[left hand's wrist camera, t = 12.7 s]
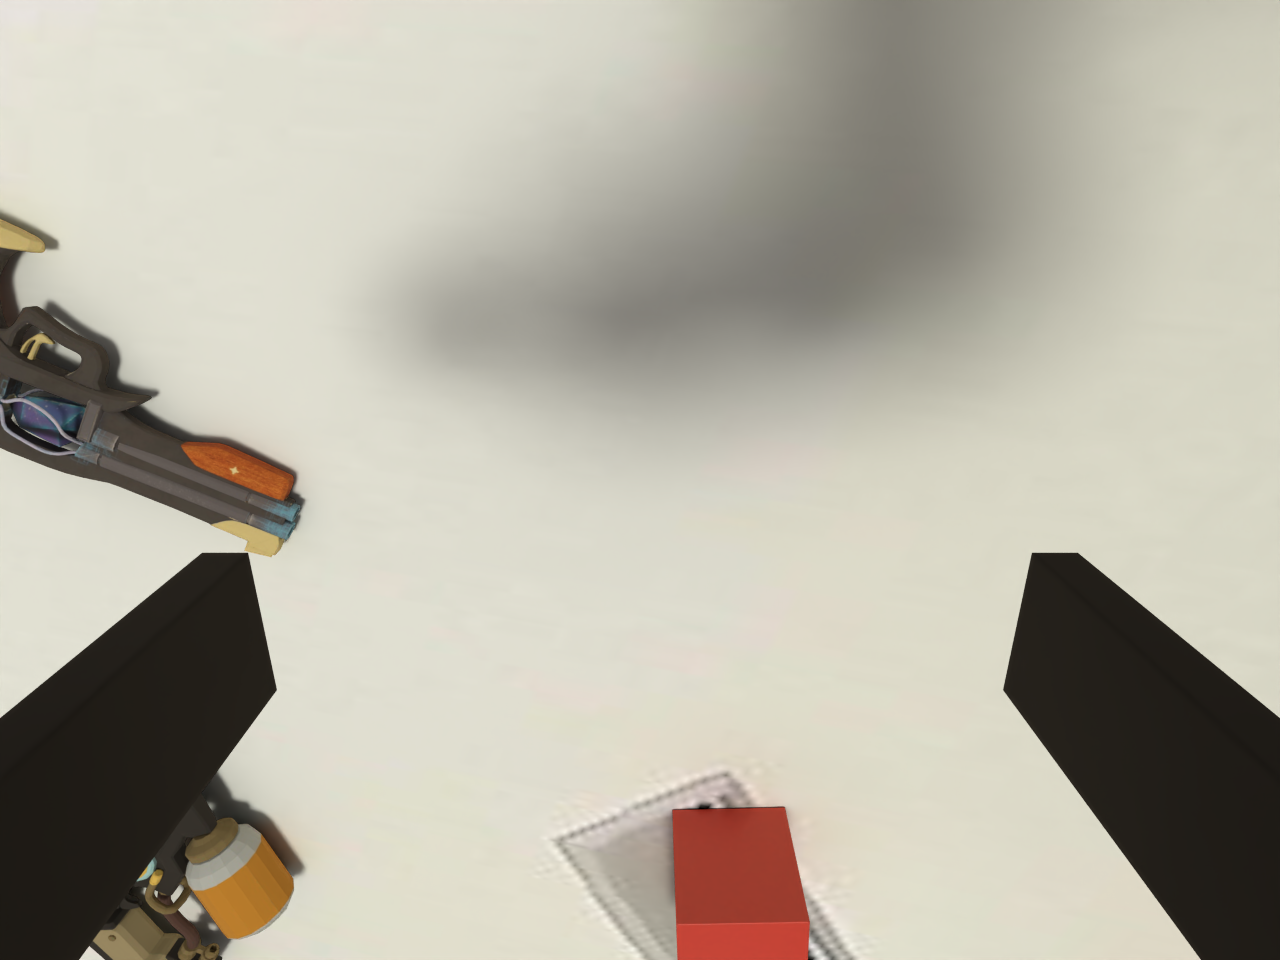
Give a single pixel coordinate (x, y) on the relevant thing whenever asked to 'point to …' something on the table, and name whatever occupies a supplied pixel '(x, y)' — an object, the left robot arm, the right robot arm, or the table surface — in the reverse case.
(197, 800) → the spray gun
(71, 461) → the toy gun
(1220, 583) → the table surface
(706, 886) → the block
